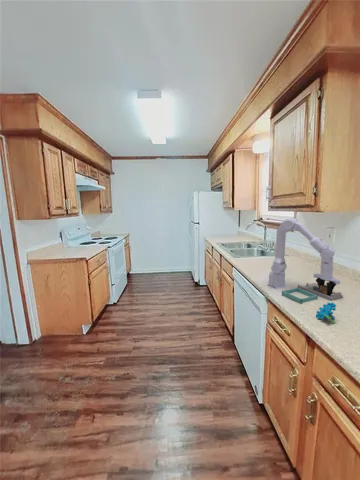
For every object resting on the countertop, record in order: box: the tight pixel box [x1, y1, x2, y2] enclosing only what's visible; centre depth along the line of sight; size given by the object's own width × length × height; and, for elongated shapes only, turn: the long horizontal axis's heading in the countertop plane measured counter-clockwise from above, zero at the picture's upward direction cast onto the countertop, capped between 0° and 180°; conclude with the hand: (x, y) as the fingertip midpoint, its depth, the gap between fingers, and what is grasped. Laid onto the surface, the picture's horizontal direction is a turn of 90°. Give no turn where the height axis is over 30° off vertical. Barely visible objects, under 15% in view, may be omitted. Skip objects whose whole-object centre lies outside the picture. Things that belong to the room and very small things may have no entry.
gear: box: [315, 301, 337, 325], centre depth 107 cm, size 11×6×10 cm
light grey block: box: [308, 282, 320, 291], centre depth 139 cm, size 4×5×4 cm
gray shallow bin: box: [296, 282, 344, 302], centre depth 136 cm, size 22×10×4 cm, turn 20°
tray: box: [281, 287, 319, 305], centre depth 132 cm, size 14×12×2 cm
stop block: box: [320, 284, 331, 296], centre depth 132 cm, size 4×4×5 cm
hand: (325, 292), depth 133 cm, fingers open, 4 cm apart
